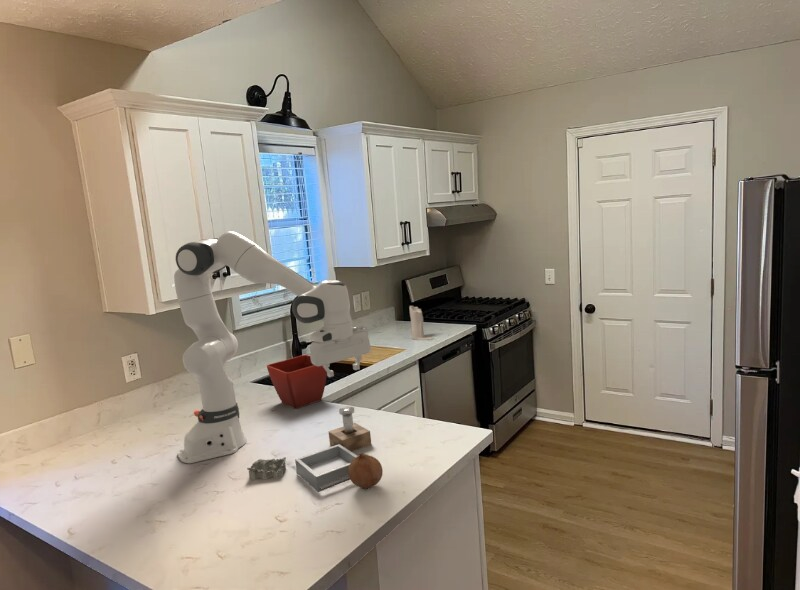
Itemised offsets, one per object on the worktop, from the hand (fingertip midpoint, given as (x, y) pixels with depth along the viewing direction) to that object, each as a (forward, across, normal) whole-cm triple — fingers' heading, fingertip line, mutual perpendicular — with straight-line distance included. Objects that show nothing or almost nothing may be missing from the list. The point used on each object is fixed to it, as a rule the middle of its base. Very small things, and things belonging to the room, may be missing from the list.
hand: (343, 372), depth 173 cm
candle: (+26, -107, -103) cm, 151 cm away
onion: (+26, +10, +26) cm, 38 cm away
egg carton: (+26, +28, -3) cm, 38 cm away
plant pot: (+26, -8, -56) cm, 62 cm away
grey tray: (+26, +14, +11) cm, 31 cm away
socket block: (+26, +1, 0) cm, 26 cm away
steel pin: (+24, +1, 0) cm, 24 cm away
